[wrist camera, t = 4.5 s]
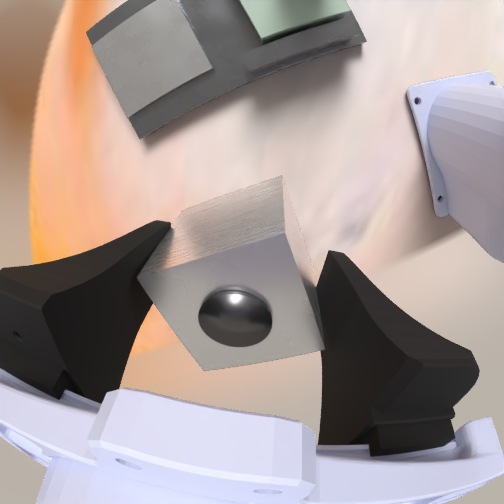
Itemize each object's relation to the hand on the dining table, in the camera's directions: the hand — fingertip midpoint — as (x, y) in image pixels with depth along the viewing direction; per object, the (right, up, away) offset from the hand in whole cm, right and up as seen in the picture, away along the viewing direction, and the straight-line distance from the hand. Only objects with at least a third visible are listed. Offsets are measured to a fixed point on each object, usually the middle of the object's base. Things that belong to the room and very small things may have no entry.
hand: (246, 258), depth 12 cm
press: (-3, +14, +2) cm, 14 cm away
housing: (0, +1, +1) cm, 2 cm away
